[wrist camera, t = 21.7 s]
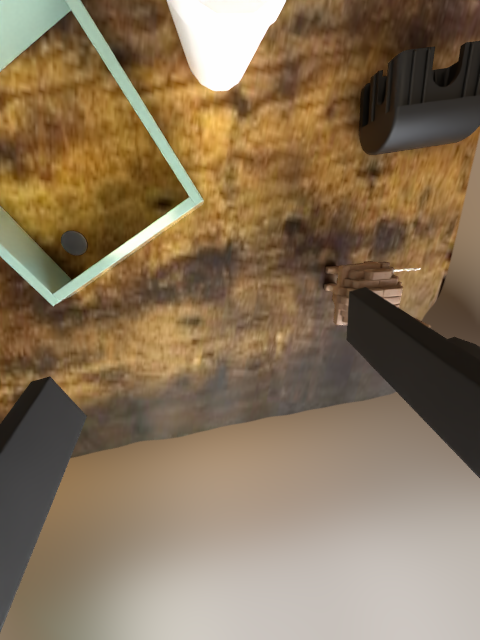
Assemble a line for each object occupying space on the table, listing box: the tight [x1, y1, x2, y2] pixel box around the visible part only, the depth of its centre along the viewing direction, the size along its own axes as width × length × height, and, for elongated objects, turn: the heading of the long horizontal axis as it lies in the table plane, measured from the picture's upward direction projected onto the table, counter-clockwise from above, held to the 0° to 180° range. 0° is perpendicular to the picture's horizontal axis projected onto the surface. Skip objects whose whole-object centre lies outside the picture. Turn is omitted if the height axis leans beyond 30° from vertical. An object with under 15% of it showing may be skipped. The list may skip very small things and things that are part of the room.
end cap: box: [359, 41, 480, 155], centre depth 25 cm, size 10×7×7 cm
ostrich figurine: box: [324, 261, 431, 328], centre depth 27 cm, size 17×7×18 cm, turn 93°
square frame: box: [0, 0, 204, 306], centre depth 24 cm, size 20×20×5 cm
